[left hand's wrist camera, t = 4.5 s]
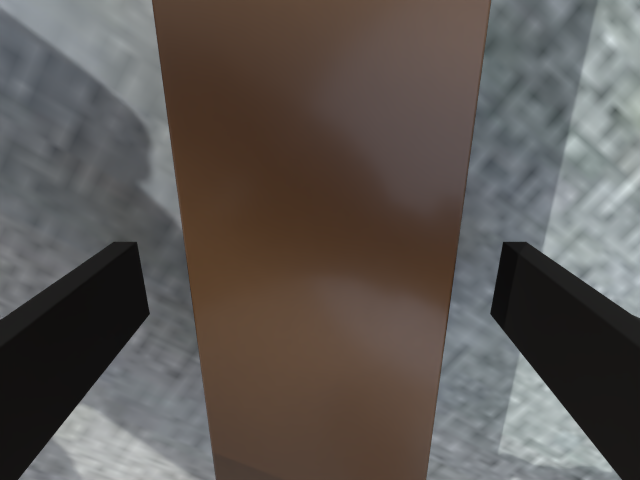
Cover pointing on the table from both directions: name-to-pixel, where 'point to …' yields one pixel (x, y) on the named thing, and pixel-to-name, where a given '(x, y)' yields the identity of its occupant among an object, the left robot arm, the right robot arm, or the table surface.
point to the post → (321, 221)
